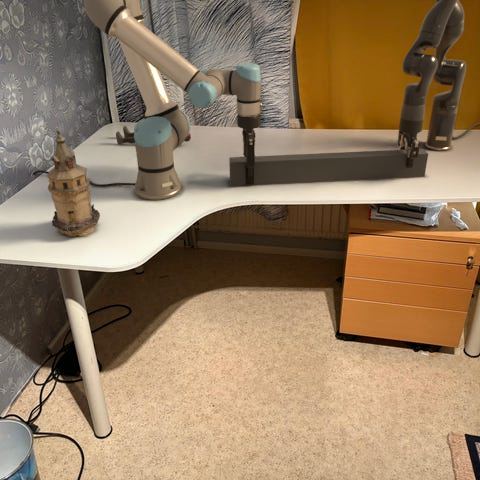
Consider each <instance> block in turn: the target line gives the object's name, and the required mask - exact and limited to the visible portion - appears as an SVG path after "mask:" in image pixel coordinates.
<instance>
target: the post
mask: <svg viewBox="0 0 480 480" xmlns="http://www.w3.org/2000/svg"><path fill="white" fill-rule="evenodd" d="M415 153H416V152H415ZM428 158H429V152H428V151H426V150H425V149H424V148H419V153H418V157H417V158H414V161H413V167H412V168H406V161H407V151H406V150H399V149H388V150H387V149H386V150H385V149H384V150H365V151H364V150H362V151H343V152H342V151H341V152H322V153H321V152H319V153H298V154H276V155H273V154H272V155H255V167H254V185H253V186H263V185H282V184H283V185H284V184H303V183H323V182H342V181H346V182H347V181H363V180H364V181H366V180H383V179H384V180H385V179H403V178H405V179H406V178H425V177H426V171H427V164H428ZM228 160H229V161H228V162H229V165H228V167H229V183H230V187H244V186H247V185H246V168H244V166H245V165H246V157H244V156H232V157H229V159H228Z"/></svg>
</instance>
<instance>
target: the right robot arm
mask: <svg viewBox="0 0 480 480" xmlns="http://www.w3.org/2000/svg"><path fill="white" fill-rule="evenodd" d="M464 29H465V10H464V7H463V5H462V3H461V2H460V0H435V3H434V5H433V6H432V7H431V8H430V9H429V10H428V12H427V13H426V14H425V16H424V18H423V21H422V24H421V26H420V29H419V33H418V35H417V37H416V39H415V41H413V42H414V43H413V44H412V45H411V47H410V49H409V50H408V52H407V53H406V55H405V56H404V58H403V60H402V65H401V68H402V72H403V74H404V75H407V76H409V77H416V78H420V80H419V82H414V83H408V84H407V85H406V86H405V89H404V93H403V101H402V105H401V109H400V117H399V118H400V119H399V126H398V136H397V147H398V150H406V151H407V161H406V168H412V167H413V161H414V158H417V157H418V153H419V149H421V143H422V142H421V140H418V134H419V133H421V132H422V131H423V127H424V122H425V115H426V103H427V97H428V91H429V90H430V86H431V83H432V81H433V82H434V84H436V85H440V86H447V87H448V86H450V87H451V89H449V90H447V91H443V92H439V93H436V94H435V95H434V96H433V99H432V106H431V111H430V117H429V123H428V129H427V135H426V141H425V147H426V148H427V149H430V150H433V151H440V152H441V151H448V150H451V147H452V141H453V140H458V139H460V138H462V137H463V136H464V135H466V134H468V132H470V131H471V130H472V129H473V128H475V127H476V126H478V125H480V121H479V122H477V123H475V124H473V125H471V126H470V127H469V128H467V129H466V130H465V131H464V132H463V133H461V134H459V135H458V136H455V137H454V130H455V124H456V119H457V115H458V108H459V104H460V98H461V94H462V88H463V84H464V80H465V77H466V72H467V63H466V61H465V60H462V59H451V58H449V59H448V58H446V56H447V53H448V52H449V50H450V49H451V48H452V47H453V46H454V45H455V43H456V42H457V41H458V40H459V39H460V37H461V36H462V35H463V32H464ZM432 49H434V54H430V53H429V54H428V53H424V52H425V51H428V50H432ZM415 152H416V153H415Z"/></svg>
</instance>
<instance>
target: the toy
mask: <svg viewBox="0 0 480 480" xmlns="http://www.w3.org/2000/svg"><path fill="white" fill-rule="evenodd" d="M122 131H123V135H122V134H121V132H120V131H119V130H118V131H116V132H115V138H116V143H117V145H122V144H135V140H134V131H133V132H131V131H129V128H128V127H127V126H126V125H123V127H122ZM191 136H192V134H191V132H189V134H188V136H187V138H186V139H185V141H184V142H185V143H187V142H189V141H191V138H192V137H191Z"/></svg>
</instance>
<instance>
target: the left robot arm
mask: <svg viewBox="0 0 480 480" xmlns="http://www.w3.org/2000/svg"><path fill="white" fill-rule="evenodd" d="M143 3H144V2H143V0H83V7H84V10H85V11H84V12H85V13H86V15H87V17H88V18H89V20H90V21H91V22H92V23H93V24H94V26H95V27H97V28H98V29H99V30H101V31H102V32H103V33H104V34H106V35H107V36H108V37H109V38H117V41H118V43H119V45H120V48H121V50H122V52H123V54H124V57H125V59H126V62H127V64H128V66H129V69H130V71H131V73H132V76H133V78H134V81H135V84H136V86H137V89H138V91H139V93H140V95H141V98H142V100H143V102H144V105H145V107H146V110H145V112H144V117H145V118H142V119H140V120H138V121H137V123H135V125H134V127H133V132H134V140H135V143H134V144H135V154H136V161H137V175H136V179H135V182H111V183H101V184H99V183H94V182H92V181H91V180H90V184H89V185H91V186H93V187H98V188H102V187H103V188H104V187H105V188H106V187H111V186H112V187H113V186H134V193H135V195H136V196H137V197H138V198H141V199H143V200H148V201H161V200H168V199H171V198H174V197H176V196H178V195H179V194H180V193H181V192H182V183H181V180H180V177H179V176H178V173H177V171H176V169H175V161H174V160H175V159H174V158H175V157H174V151H175V150H176V149H177V148H178V147H179V146H180V145H181V144H183V143H184V142H185V139H186V138H187V136H188V134H189V133H191V132H190V131H191V122H190V119H189V117H188V115H187V114H186V112H184V111H182V110H181V109H180V107H179V104H178V102H177V101H175V100H172V98H171V96H170V93H169V91H168V89H167V86H166V83H165V81H164V78H163V76H164V77H166V78H167V79H168V80H169V81H171V82H172V83H173V84H174V85H176V86H177V87H178V88H180V89H181V90H182V91H183V92H185V93H186V94H187V95H188V99H189V101H190V104H192V105H193V106H194V107H196V108H198V109H205V108H208V107H210V106H212V105H213V104H214V103H215V102H216V101H217V100H218V99H219V98H220V97H221V96H222V95H223V96H236V113H237V115H236V125H237V127H238V128H240V129H242V131H241V134H242V144H243V146H242V147H243V149H242V150H243V151H242V152H243V153H242V155H243V157H246V165H245V166H244V168H246V185H245V186H255V185H254V167H255V156H256V155H255V151H256V149H255V148H256V147H255V146H256V132H255V129H257V128H260V127H261V114H260V113H261V107H263V103H262V102H261V86H262V85H261V82H262V77H261V67H260V66H259V65H258V64H257V63H254V62H242V63H238V64H237V65H235V69H234V70H231V69H215V68H214V69H213V68H209V69H201V70H200V69H198V68H197V67H196V66H195V65H194V64H192V63H191V62H190V61H189V60H187V59H186V58H185V57H184V56H182V55H181V54H180V53H179V52H178V51H176V50H175V49H174V48H172V46H170V45H169V44H167V42H165V41H163V39H161V38H160V37H159V36H157V35H156V34H155V33H153V32H152V30H150V29H149V28H147V27H146V26H145V25H144V23H145V16H144V14H143V12H142V9H143V5H144V4H143ZM162 75H163V76H162ZM38 173H39V174H41V173H42V174H46V175H48V173H49V171H48V170H43V169H42V170H40V169H39V170H35V171H33V172H32V174H31V175H32V176H35V175H37V174H38Z"/></svg>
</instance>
